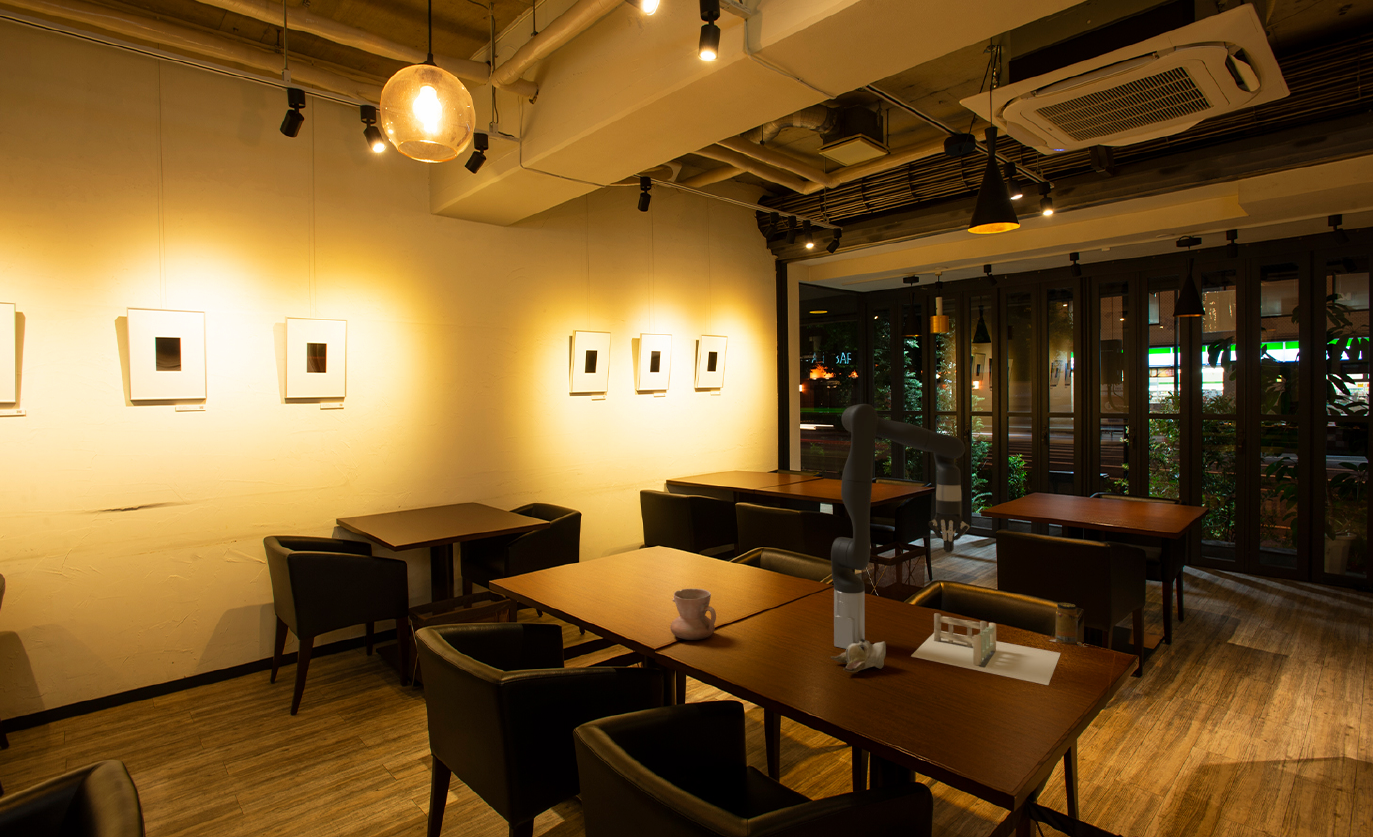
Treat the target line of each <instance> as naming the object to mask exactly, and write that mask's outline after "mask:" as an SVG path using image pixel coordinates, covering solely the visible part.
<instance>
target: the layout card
mask: <svg viewBox="0 0 1373 837" xmlns="http://www.w3.org/2000/svg"><path fill="white" fill-rule="evenodd" d="M941 632H945V633H948V631H943V630H941ZM953 634H955V635H961V636H966V637H967V635H964V634H958V633H954V632H953ZM972 638H973V636H972ZM1060 656H1061V652H1057V651H1052V650H1051V651H1050V650H1048V649H1041V648H1035V647H1031V646H1024V645H1019V644H1014V643H1008V642H1002V641H998V640H996V651H990V655H986V658H982V662H981V665H975V664H973V644H972V647H967V643H964V642H959V641H953V644H950V643H948V639H943V638H941V641H940V642H936V641H934V632H933V633H932V634H931V635H930V636H929V637H927V639H926V640H925V641H924V642H923V643H922V644H921V645H920V646H919V647H918V648H917V649H916V650H915V651H914V652H913V653H912V654H911V656H910V657H912V658H918V659H922V660H926V661H931V662H936V663H941V664H945V665H950V666H954V667H960V668H963V669H964V668H965V669H969V670H974V671H979V672H984V673H987V674H992V675H999V676H1002V677H1007V678H1012V679H1017V680H1021V681H1026V682H1030V683H1036V684H1041V685H1045V686H1049V684H1050V681H1051V679H1052V677H1053V674H1054V671H1055V669H1056V666H1057V664H1058V662H1059V659H1060Z"/></svg>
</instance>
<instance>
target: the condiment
mask: <svg viewBox="0 0 1373 837" xmlns="http://www.w3.org/2000/svg"><path fill="white" fill-rule="evenodd" d="M1078 629H1079V617H1078V613H1077V605H1075V604H1073V603H1069V602H1059V603H1057V608H1056V612H1055V639H1050V640H1049V639H1048V641H1050V642H1055V643H1061V644H1064V645H1071V646H1076V647H1082V646H1083V647H1082V648H1085V647H1088V646H1084V644H1086V645H1088V644H1087V643H1084V644H1083V645H1081V644H1082V643H1083V642H1080V641H1079V637H1078V636H1079V635H1078V634H1079V633H1078V631H1079V630H1078ZM1077 643H1078V644H1077Z"/></svg>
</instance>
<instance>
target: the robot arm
mask: <svg viewBox="0 0 1373 837" xmlns="http://www.w3.org/2000/svg"><path fill="white" fill-rule="evenodd" d="M877 412H878V411H877V410H876V409H875V408H874V407H873V406H872V405H871V404H868V403H862V404H861V403H860V404H855V405H851V406H849V407H847V408H846V409H845V410H844V411H843V412H842V415H841V424H842V426H843V428H844V429H845V430H846V431H847V432H848V433H851V434H850V435H851V436H850V437H851V439H850V440H851V441H850V443H851V444H850V448H849V453H848V457H847V459H846V462H845V465H844V466H843V471H842V475H841V487H840V489H841V491H840V495H841V500H842V503H843V504H844V507H845V509H846V511H847V513H848V515H849V517H850V519H851V524H852V532H853V533H852V538H850V537H844V536H839V537H836V538H835V539H834V540H833V543H832V546H831V551H830V562H831V563H830V564H831V579H832V582H833V590H834V591H833V628H834V629H833V638H834V639H833V645H834V647H837V648H841V649H845V650H846V649H847V647H848V646H849V645H850V644H852V643H859V642H860V639H865V581H864V580H863V579H862V578H860V577H859V576H858V575H856V574H855V572H853V570H854V571H856V570H857V571H864V570H866V568H867V567H868V566H869V563H870V560H871V559H870V558H871V527H870V526H871V525H870V524H871V501H872V492H873V491H872V489H873V466H874V449H875V442H876V438H877V437H878V438H881V439H885V440H888V441H892V442H895V443H897V444H900V445H903V446H906V447H910V448H912V449H916V450H919V451H922V452H923V451H924V452H929V453H932V454H933V458H934V463H935V467H936V471H937V475H936V482H937V483H936V491H935V492H936V494H935V498H936V499H935V501H936V503H935V506H936V509H935V511H936V514H935V516H934V518H933V519H932V520H931V521H928V523H927V525H928V526H929V528H930V529H931V530H932V532H933V533H934V535H935V536H936V537H937V538H938V539H941V540H942V541H943V551H944V552H945V553H949V554H951V553H952V552H953V551H954V550H955V541H958V540H960V539H961V538H962V536H963V535H964V534H965V533H966V532H967V531H968V530H969V529H970V527H971V526H970V524H967V523H966V522H964V519H963V516H962V489H961V488H962V486H961V483H962V482H961V481H962V480H961V476H962V475H961V469H960V468H959V467H958V466H957V465H956V461H955V460H956V459H959V458H961V457H962V456H963V455H964V454H965V452H966V446H965V443H964V442H963V440H961V439H960V438H959V437H957V436H956V437H955V436H953V435H949V434H944V433H942V432H941V433H940V432H937V431H932V430H930V429H927V428H924V427H922V426H919V425H916V424H915V425H914V424H911V423H906V422H901V421H894V420H892V419H891V420H890V419H887V418H883V417H881V416H878V413H877ZM938 526H939V527H938ZM958 528H960V531H958V532H957V533H956V530H958ZM940 529H941V530H940Z"/></svg>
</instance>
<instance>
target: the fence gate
mask: <svg viewBox="0 0 1373 837" xmlns="http://www.w3.org/2000/svg"><path fill="white" fill-rule="evenodd" d="M972 637H973V664H975V665H981V662H982V658H986V655H990V651H996V641H997V623H995V622H989V623H988V626H987V627H986V628H985V630H982V632H981V633H980V632H978V633H977V634H972Z"/></svg>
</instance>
